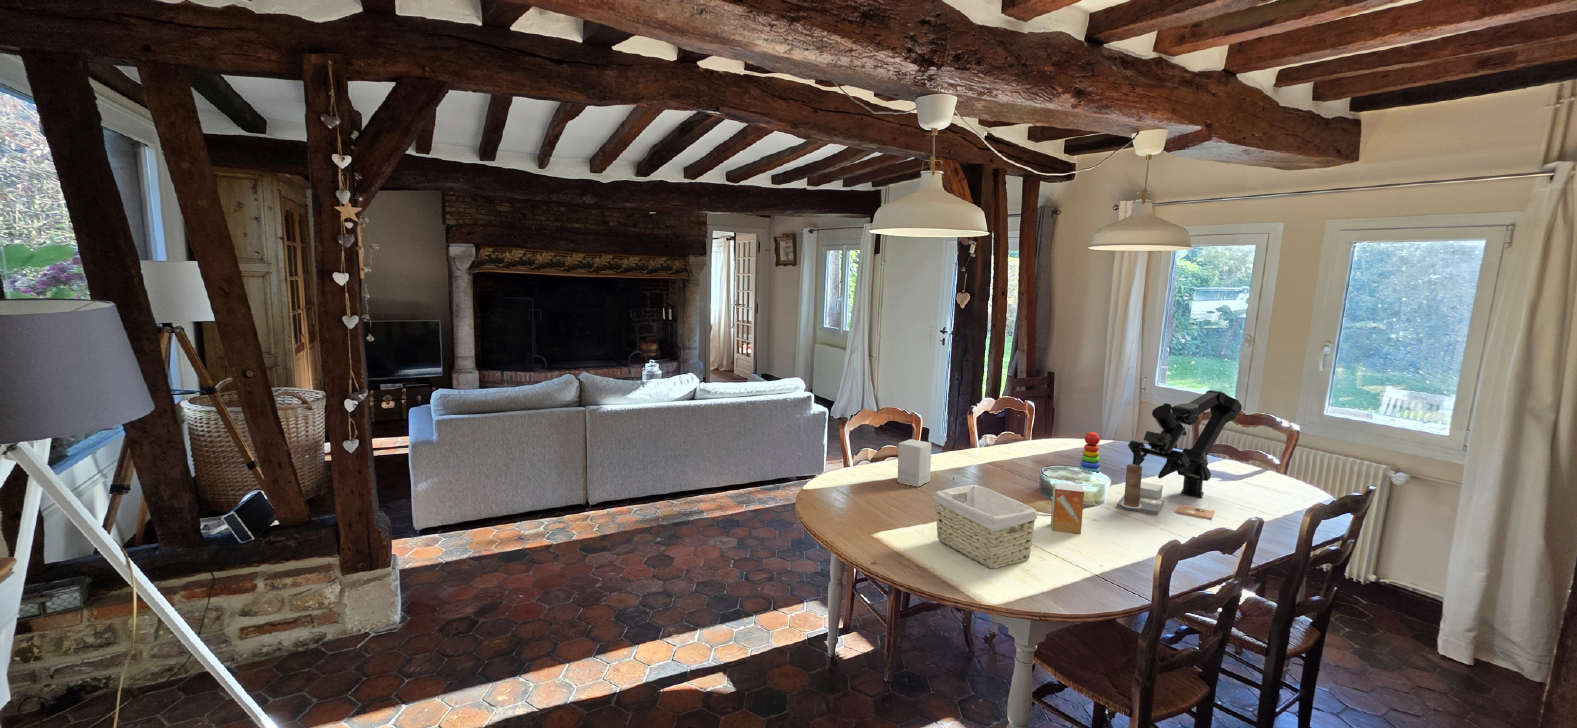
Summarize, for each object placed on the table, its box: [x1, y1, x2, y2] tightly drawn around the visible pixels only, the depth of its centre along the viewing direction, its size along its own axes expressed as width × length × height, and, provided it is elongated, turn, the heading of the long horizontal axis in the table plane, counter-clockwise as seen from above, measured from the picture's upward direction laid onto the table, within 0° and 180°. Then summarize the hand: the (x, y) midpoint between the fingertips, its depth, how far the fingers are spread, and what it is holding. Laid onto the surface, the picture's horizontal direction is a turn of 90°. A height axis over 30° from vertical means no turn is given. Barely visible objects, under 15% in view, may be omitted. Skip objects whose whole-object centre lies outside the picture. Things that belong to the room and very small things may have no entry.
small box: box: [1050, 482, 1085, 535], centre depth 198 cm, size 8×6×13 cm
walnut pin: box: [1123, 463, 1143, 507], centre depth 216 cm, size 4×4×13 cm
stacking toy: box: [1079, 431, 1101, 473], centre depth 244 cm, size 8×8×19 cm
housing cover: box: [1140, 481, 1163, 500], centre depth 228 cm, size 8×8×4 cm
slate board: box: [1116, 493, 1165, 516], centre depth 219 cm, size 15×12×1 cm
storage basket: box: [933, 484, 1038, 570], centre depth 181 cm, size 24×16×15 cm
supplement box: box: [897, 438, 932, 487], centre depth 241 cm, size 9×9×15 cm
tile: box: [1174, 503, 1215, 520], centre depth 214 cm, size 8×10×1 cm
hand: (1145, 473), depth 218 cm, fingers open, 9 cm apart
